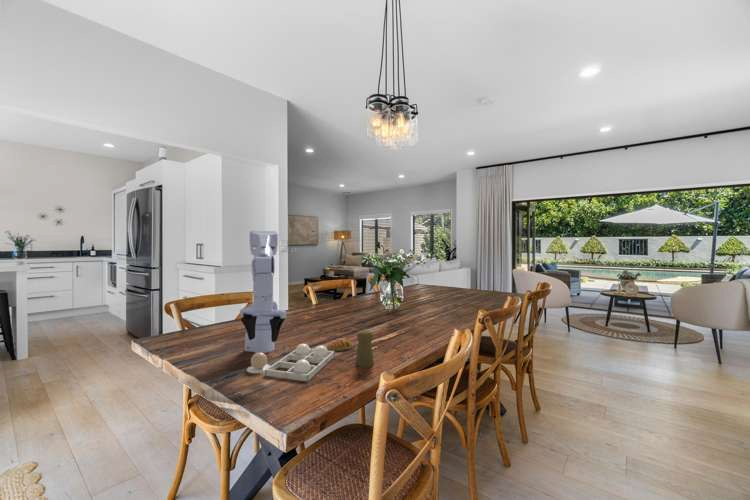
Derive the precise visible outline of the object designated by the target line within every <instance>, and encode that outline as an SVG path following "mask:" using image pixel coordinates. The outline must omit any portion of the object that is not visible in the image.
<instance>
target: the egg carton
mask: <svg viewBox="0 0 750 500" xmlns="http://www.w3.org/2000/svg"><path fill="white" fill-rule="evenodd" d="M314 349H315V348H310V354H309V355H308V356H303V355H296V349H294V350H293V351H291V352H290V353H288V354H287V355H285V356H283V357H282V358H281V359H279V360H278V361H276V362H274V363H273V364H272V365H270V367H268V368H267V369H265V372H264V376H265V377H272V378H280V379H287V380H293V381H294V380H295V381H299V382H300V381H301V382H309V381H310V380H311V379H312V378H313V377H314V376H316V375H317V373H319V372H320V371H321V370H322V369H323V368H324V367H326V365H327V364H328V363H330V362H331V361H332V360H333V359H334V358H335V352H336V351H328V356H327V357H326V358H320V357H314V355H313V352H314ZM302 359H304V360H307V361H308V362H309V363H313V364H317V365H313V364H310V366H311V369H310V372H309V373H308V374H300V373H295V372H294V365H295V363H296V362H297V361H299V360H302ZM289 361H296V362H289ZM279 368H280V369H281V368H282V369H287V370H286V371H282V370H277V369H279Z"/></svg>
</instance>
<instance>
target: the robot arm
mask: <svg viewBox="0 0 750 500" xmlns="http://www.w3.org/2000/svg"><path fill="white" fill-rule="evenodd" d="M278 235H279V234H278V231H277V230H273V231H272V230H253V229H251V230H250V231H249V248H250V250H249V252H251V253H250V254H251V255H252V256H253V258H251V275H252V282H253V283H252V285H253V287H252V288H253V289H252V298H253V300H252V301H253V302H251V303H250V305H249V307H243V308H240V310H239V316H241V318H240V321H241V322H242V324H243V326H244V327H245V335H244V352H245V351H246V352H251V353H254V354H256V353H258V352H261V353H264V354H266V353H267V354H268V353H270V352H273V351H274V350H275V342H277V341H278V337H279V333H280V331H281V328H282V325H283V323H284V322H285V319H286V318H287V317H288V316H287V310H281V309H278V304H277V302H276V301H274V275H275V270H276V269H275V268H276V266H275V264H276V262H275V260H276V259H275V257H274V256H276V255H277V252H278V244H279V240H278V239H279V238H278V237H279V236H278Z"/></svg>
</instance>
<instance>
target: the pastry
mask: <svg viewBox="0 0 750 500" xmlns="http://www.w3.org/2000/svg"><path fill="white" fill-rule="evenodd" d="M326 348H327V350H328V351H335V352H342V351H347V350H351V349H353V348H354V345H353V341H352V340H351V338H350V337H344V338H339V339H336V340H334V341H333V342H331V343H329V344H328V345H327V347H326Z"/></svg>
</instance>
